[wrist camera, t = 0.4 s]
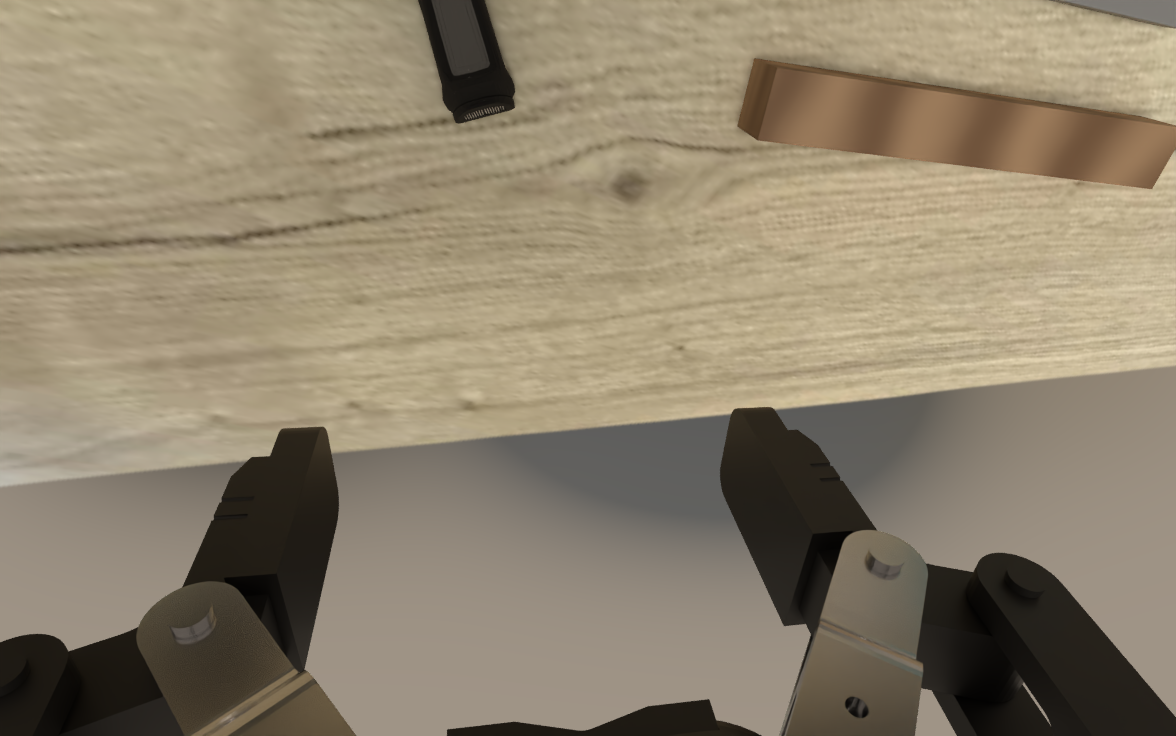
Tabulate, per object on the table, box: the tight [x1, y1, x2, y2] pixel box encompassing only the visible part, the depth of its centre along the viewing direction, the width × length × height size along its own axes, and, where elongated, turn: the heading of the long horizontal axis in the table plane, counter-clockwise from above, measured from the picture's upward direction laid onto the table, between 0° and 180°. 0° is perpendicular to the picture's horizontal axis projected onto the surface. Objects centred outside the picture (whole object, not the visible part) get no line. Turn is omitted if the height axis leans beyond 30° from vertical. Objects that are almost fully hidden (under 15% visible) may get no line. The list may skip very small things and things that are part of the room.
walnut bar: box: [738, 58, 1176, 189], centre depth 39 cm, size 26×4×4 cm, turn 81°
